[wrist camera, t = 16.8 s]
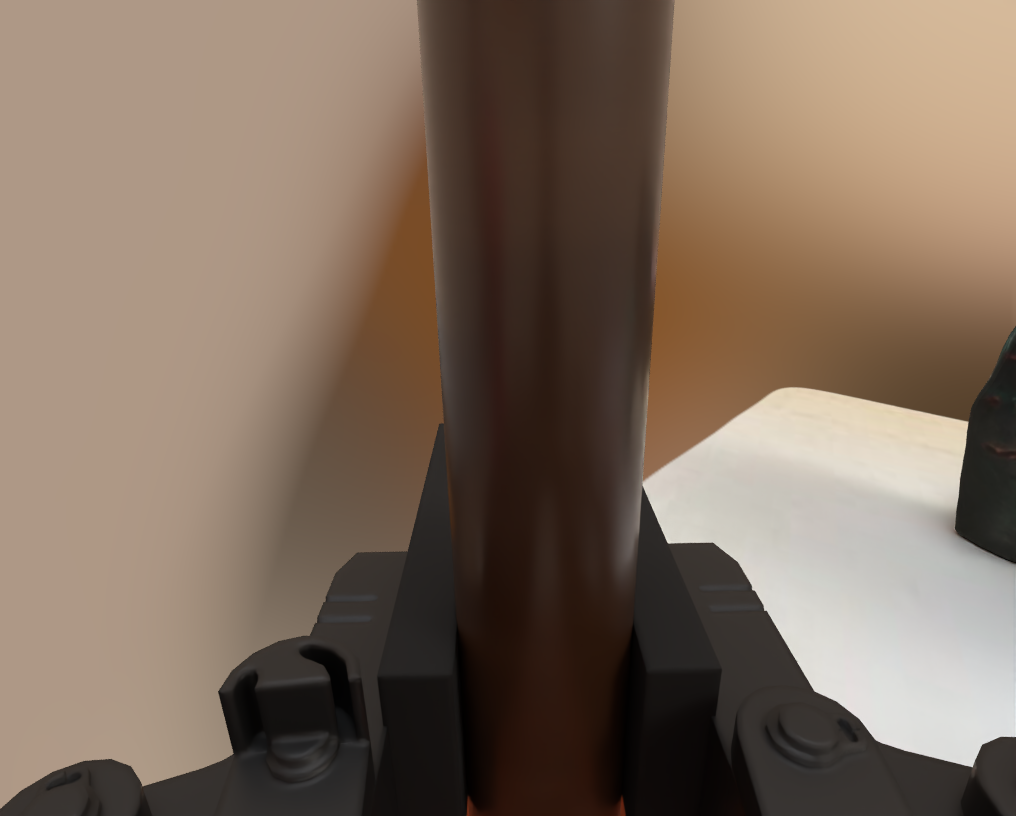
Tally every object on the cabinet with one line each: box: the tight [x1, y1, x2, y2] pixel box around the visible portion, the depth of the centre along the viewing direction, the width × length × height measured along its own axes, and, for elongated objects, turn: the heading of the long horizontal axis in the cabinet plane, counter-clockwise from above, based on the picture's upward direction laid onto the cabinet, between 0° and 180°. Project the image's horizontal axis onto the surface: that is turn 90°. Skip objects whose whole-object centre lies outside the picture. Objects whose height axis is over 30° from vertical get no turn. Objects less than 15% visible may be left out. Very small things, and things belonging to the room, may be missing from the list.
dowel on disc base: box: [417, 0, 674, 816], centre depth 8 cm, size 6×6×18 cm
